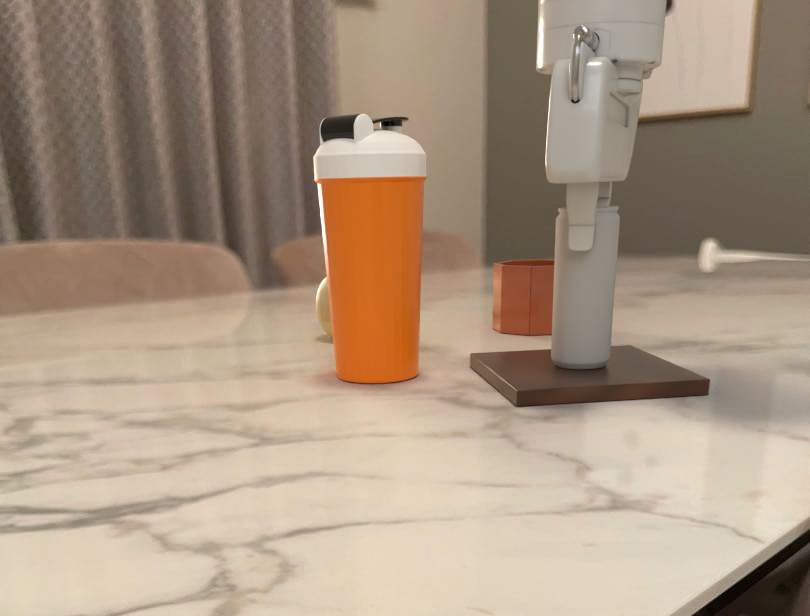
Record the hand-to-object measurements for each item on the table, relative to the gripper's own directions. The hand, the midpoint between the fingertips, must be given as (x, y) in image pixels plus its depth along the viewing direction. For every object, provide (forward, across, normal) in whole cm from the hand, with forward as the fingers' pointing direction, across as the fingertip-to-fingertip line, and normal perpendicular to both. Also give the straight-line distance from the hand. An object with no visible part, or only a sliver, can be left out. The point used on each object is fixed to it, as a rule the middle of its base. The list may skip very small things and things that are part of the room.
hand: (587, 247), depth 66 cm
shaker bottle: (+10, -2, +17) cm, 20 cm away
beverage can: (+9, 0, 0) cm, 9 cm away
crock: (+10, +25, +9) cm, 28 cm away
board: (+10, 0, 0) cm, 10 cm away
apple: (+10, +15, +26) cm, 32 cm away
